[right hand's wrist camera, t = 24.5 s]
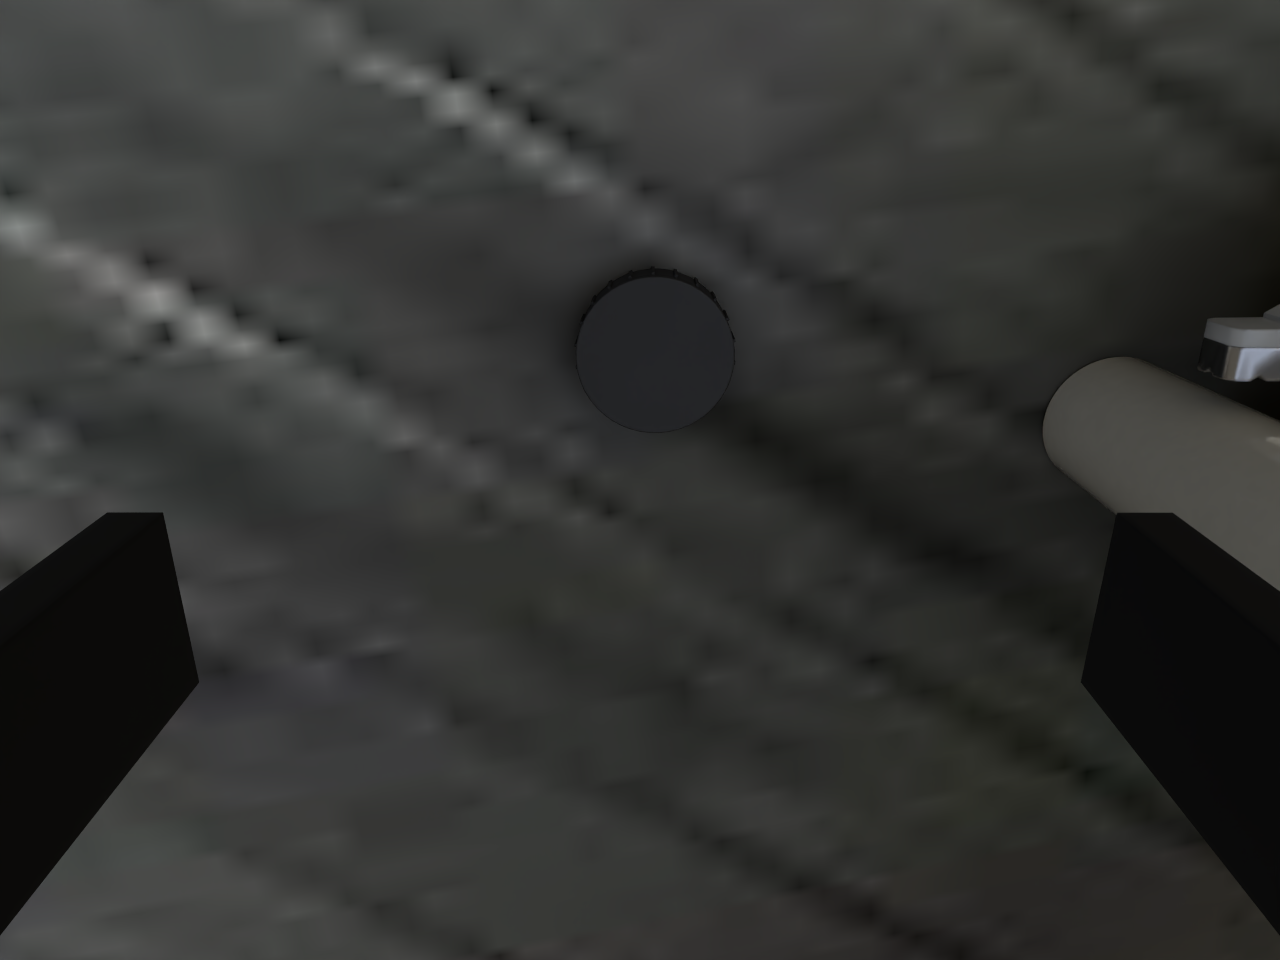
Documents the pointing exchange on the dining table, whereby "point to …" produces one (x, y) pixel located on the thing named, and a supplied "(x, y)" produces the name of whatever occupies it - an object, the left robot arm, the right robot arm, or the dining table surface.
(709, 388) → the lid
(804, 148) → the dining table surface
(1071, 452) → the grey cylinder
